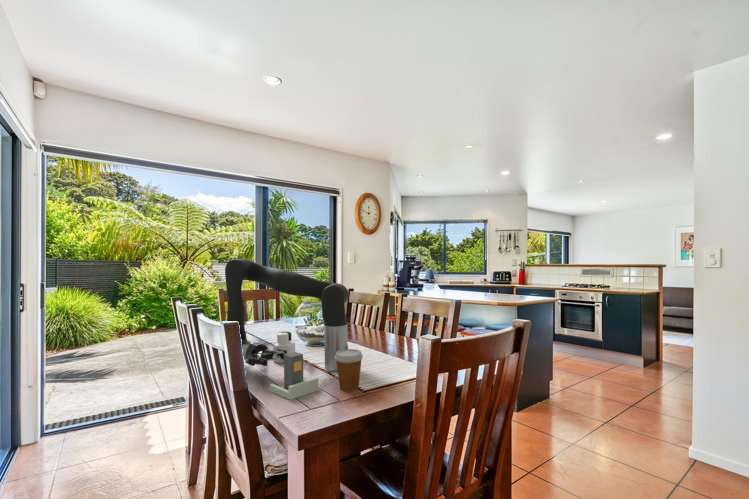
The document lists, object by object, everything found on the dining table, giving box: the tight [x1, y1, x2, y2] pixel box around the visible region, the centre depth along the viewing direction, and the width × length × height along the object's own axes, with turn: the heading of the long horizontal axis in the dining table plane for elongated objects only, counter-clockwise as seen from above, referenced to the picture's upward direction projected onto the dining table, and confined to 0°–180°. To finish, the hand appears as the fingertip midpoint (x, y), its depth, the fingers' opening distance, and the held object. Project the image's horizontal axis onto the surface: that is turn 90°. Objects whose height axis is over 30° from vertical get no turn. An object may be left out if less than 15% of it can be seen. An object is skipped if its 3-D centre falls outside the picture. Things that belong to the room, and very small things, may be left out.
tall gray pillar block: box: [283, 351, 304, 390], centre depth 124 cm, size 5×4×12 cm
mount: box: [269, 377, 320, 401], centre depth 124 cm, size 12×11×4 cm
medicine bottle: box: [272, 331, 296, 363], centre depth 160 cm, size 7×7×12 cm
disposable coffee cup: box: [335, 348, 364, 393], centre depth 125 cm, size 10×10×12 cm
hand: (277, 360), depth 131 cm, fingers open, 8 cm apart
